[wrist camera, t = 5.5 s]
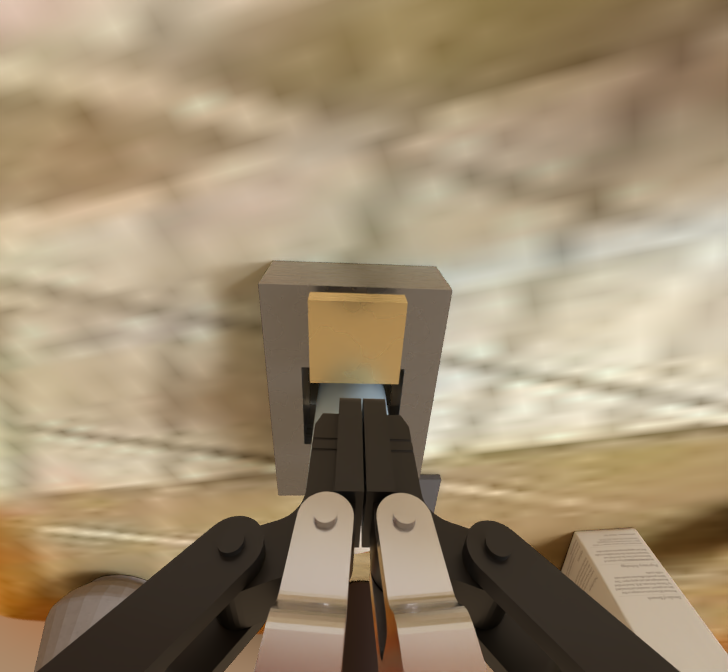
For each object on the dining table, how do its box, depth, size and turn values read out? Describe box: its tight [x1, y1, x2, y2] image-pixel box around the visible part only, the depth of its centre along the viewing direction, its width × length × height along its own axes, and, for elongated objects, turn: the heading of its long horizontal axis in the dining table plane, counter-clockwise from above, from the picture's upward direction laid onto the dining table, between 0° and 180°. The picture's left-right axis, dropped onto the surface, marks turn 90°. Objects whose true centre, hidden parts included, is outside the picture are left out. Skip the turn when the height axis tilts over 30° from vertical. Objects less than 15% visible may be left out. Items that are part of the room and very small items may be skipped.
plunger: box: [308, 292, 408, 384], centre depth 19 cm, size 4×4×5 cm
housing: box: [258, 261, 452, 495], centre depth 24 cm, size 16×10×4 cm, turn 177°
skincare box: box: [561, 528, 728, 672], centre depth 31 cm, size 8×7×16 cm
